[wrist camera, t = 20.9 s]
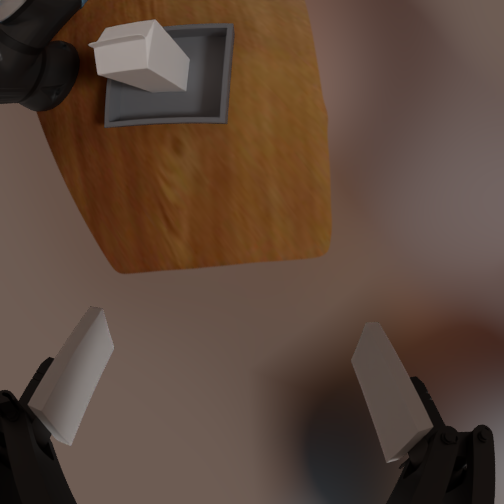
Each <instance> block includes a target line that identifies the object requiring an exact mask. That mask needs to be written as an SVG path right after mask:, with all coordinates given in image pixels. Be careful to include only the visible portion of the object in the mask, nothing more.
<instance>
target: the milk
mask: <svg viewBox="0 0 504 504" xmlns="http://www.w3.org/2000/svg"><path fill="white" fill-rule="evenodd" d="M88 46H90V47H93V48H94V54H95V61H96V68H97V74H98V75H100V76H103V77H106V78H110V79H113V80H116V81H119V82H122V83H126V84H129V85H132V86H135V87H138V88H140V89H143V90H146V91H149V92H152V93H157V92H185V91H186V89H187V80H188V71H189V62H190V59H189V58H188V56H187V55H186V54H185V53H184V52H183V51H182V49H181V48H180V47H179V46H178V45H177V44H176V42H175V41H174V40H173V39H172V38H171V37H170V35H169V34H168V33H167V32H166V31H165V30H164V29H163V28H162V26H161V25H160V24H159V23H158V22H157V21H156V20H148V21H141V22H135V23H129V24H124V25H118V26H114V27H109V28H106V29H105V30H104V32H103V33H102V35H101V36H100V38H99V40H98V41H97V42H93V43H90V44H88Z"/></svg>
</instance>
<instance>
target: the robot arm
mask: <svg viewBox="0 0 504 504" xmlns="http://www.w3.org/2000/svg"><path fill="white" fill-rule="evenodd" d="M87 1H88V0H0V104H5V103H6V104H7V103H19V104H21V105H23V106H25V107H27V108H29V109H30V110H33V111H47V110H50V109H53V108H54V107H56V106H57V105H59V104H60V103H61V102H62V101H63V100H64V99H65V98H66V96H67V95H68V94H69V92H70V90H71V89H72V87H73V85H74V83H75V80H76V77H77V74H78V70H79V56H78V52H77V50H76V48H75V47H74V46H73V45H72V44H70V43H67V42H64V41H51V40H52V38H53V37H54V36H55V35H56V34H57V33H58V31H59V30H60V29H61V28H62V27H63V26H64V25H65V24H66V23H67V21H68V20H69V19H70V18H71V17H72V16H73V15H74V14H75V13H76V12H77V11H78V10H79V9H81V8H82V7H83V6H84V4H85V3H86V2H87ZM113 350H114V345H113V342H112V339H111V336H110V332H109V329H108V325H107V322H106V318H105V314H104V311H103V308H98V307H92V306H90V308H89V309H88V310H87V312H86V313H85V315H84V316H83V317H82V319H81V320H80V322H79V323H78V325H77V326H76V327H75V329H74V330H73V332H72V333H71V335H70V336H69V338H68V339H67V341H66V342H65V344H64V345H63V347H62V348H61V350H60V351H59V353H58V354H57V356H56V357H55V359H54V358H51V357H49V358H48V359H46V360H45V361H44V362H43V363H42V364H41V365H40V366H39V368H38V370H37V371H36V373H35V374H34V376H33V379H31V381H30V383H29V384H28V386H27V387H26V389H25V391H24V393H23V395H22V396H21V398H20V400H19V401H18V400H17V399H16V397H15V396H14V395H13V394H12V393H11V392H10V391H8V390H2V391H0V504H77V503H76V501H75V499H74V497H73V495H72V493H71V491H70V488H69V486H68V484H67V481H66V479H65V477H64V474H63V472H62V469H61V467H60V464H59V461H58V459H57V456H56V453H55V450H54V447H53V444H52V442H51V440H50V436H51V434H52V435H53V436H54V437H55V438H56V439H57V440H58V441H60V442H62V443H65V444H67V445H70V446H71V445H72V442H73V440H74V437H75V434H76V432H77V429H78V427H79V424H80V422H81V420H82V417H83V415H84V412H85V410H86V408H87V405H88V403H89V401H90V399H91V396H92V394H93V392H94V389H95V387H96V385H97V383H98V381H99V379H100V376H101V374H102V372H103V370H104V368H105V366H106V364H107V362H108V360H109V358H110V356H111V354H112V352H113ZM351 362H352V365H353V367H354V370H355V372H356V375H357V378H358V381H359V383H360V386H361V389H362V391H363V394H364V397H365V400H366V403H367V405H368V408H369V411H370V414H371V417H372V420H373V423H374V426H375V429H376V431H377V434H378V438H379V441H380V444H381V447H382V450H383V453H384V456H385V459H386V462H391V461H394V460H398V459H401V458H402V457H403V456H404V455H406V454H407V453H408V455H409V458H408V459H407V460H406V461H405V462H404V463H403V464H401V466H400V467H399V469H401V468H402V467H404V468H403V471H402V473H401V475H400V477H399V479H398V482H397V484H396V486H395V488H394V490H393V492H392V494H391V495H390V497H389V499H388V501H387V503H386V504H494V498H495V453H494V440H493V434H492V431H491V430H490V428H488V427H487V426H485V425H478V426H477V427H476V428H474V430H473V431H472V432H457V431H456V429H454V428H453V427H451V426H445V424H444V422H443V420H442V418H441V416H440V414H439V412H438V410H437V408H436V406H435V404H434V402H433V400H431V399H432V398H431V396H430V394H428V391H427V389H426V387H425V385H424V383H422V381H421V380H419V379H418V378H417V377H410V378H409V376H408V374H407V372H406V370H405V368H404V367H403V365H402V363H401V361H400V359H399V357H398V355H397V354H396V352H395V350H394V348H393V346H392V344H391V343H390V341H389V339H388V337H387V336H386V334H385V332H384V331H383V329H382V327H381V325H380V324H379V322H371V323H366V324H365V326H364V329H363V332H362V334H361V337H360V340H359V342H358V345H357V347H356V350H355V352H354V355H353V357H352V360H351ZM466 465H467V468H466Z"/></svg>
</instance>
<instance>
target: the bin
mask: <svg viewBox="0 0 504 504" xmlns="http://www.w3.org/2000/svg"><path fill="white" fill-rule="evenodd" d="M162 28H163V29H164V30H165V31H166V32H167V33H168V34H169V35H170V37H171V38H172V39H173V40H174V41H175V42H176V44H177V45H178V46H179V47H180V48H181V49H182V51H183V52H184V53H185V54H186V55H187V56H188V58H189V59H190V62H189V71H188V80H187V89H186V91H185V92H157V93H152V92H149V91H146V90H143V89H140V88H138V87H135V86H132V85H129V84H126V83H122V82H119V81H116V80H113V79H110V78H107V88H106V102H105V124H104V128H108V127H125V126H137V125H153V124H181V123H211V124H227V121H228V106H229V92H230V79H231V67H232V56H233V45H234V26H233V24H191V25H177V26H167V27H162Z"/></svg>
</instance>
